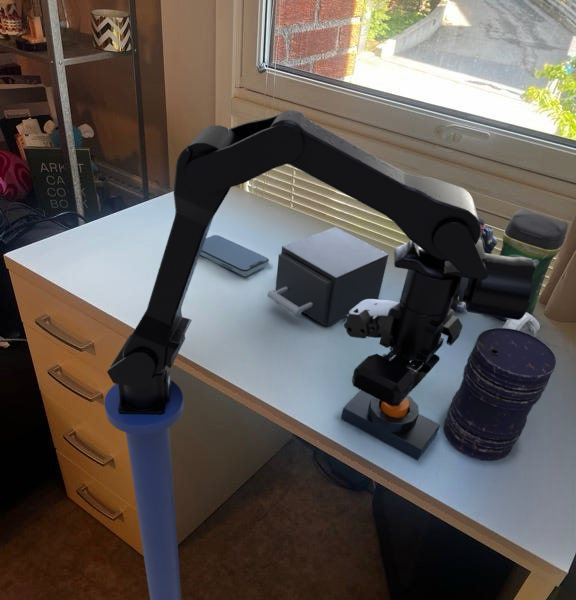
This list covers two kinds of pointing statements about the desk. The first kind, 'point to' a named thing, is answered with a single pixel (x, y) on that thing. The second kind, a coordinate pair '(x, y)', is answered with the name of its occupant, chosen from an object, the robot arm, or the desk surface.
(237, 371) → the desk surface
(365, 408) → the button panel
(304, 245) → the black drawer cabinet
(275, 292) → the open black drawer
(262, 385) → the desk surface
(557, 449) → the desk surface
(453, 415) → the navy cylinder
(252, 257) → the smartphone
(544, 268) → the coffee jar
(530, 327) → the watch
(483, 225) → the action figure
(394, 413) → the button
